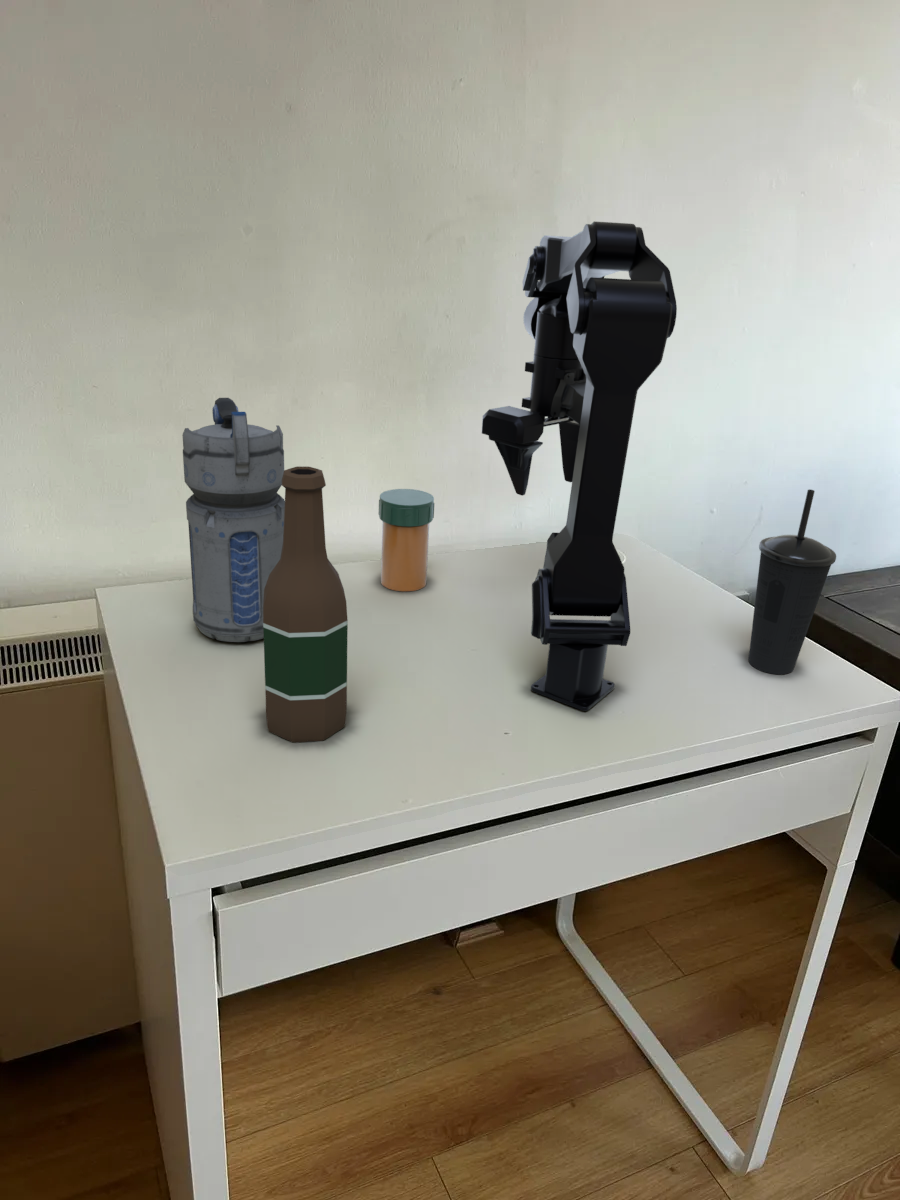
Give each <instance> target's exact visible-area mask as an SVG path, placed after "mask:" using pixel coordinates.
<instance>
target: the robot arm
mask: <svg viewBox="0 0 900 1200" xmlns="http://www.w3.org/2000/svg"><path fill="white" fill-rule="evenodd" d="M532 249H533V250H532V254H531V255H529V257H528V258H527V263H526V267H525V271H524V273H523V278H522V291H523V292H524V297H526V298H533V299H531V300H530V302H529V303H528V304H527V306H526V307H525V309H524V312H523V318H522V319H523V325H524V329H525V330H526V332H527V334H528V335H529V336H530V337H531V338H532V339H533V340H534V348H533V349H534V350H533V358H532V359H533V361H525V364H524V372H527V373H530V374H531V381H530V394H529V396H527V397H522V398H521V408H518V407H515V406H510V405H507V406H501V407H495V408H489V409H488V410H487V411H486V412H485V413H484V414H483V415H482V420H481V421H482V422H481V434H482V435H485V436H488V440H489V441H492V442H494V443H495V446H496V448H497V450H498V452H499V455H500V456H501V458H502V460H503V463H504V465H505V468H506V470H507V473H508V475H509V478H510V481H511V483H512V486H513V489H514V491H515V493H516V494H517V495H519V496H525V495H526V492H527V489H528V485H529V478H530V472H531V467H532V460H533V455H534V453H535V452H536V451H537V450H538V449H539V448H540V447H541V446H542V445H543V444H544V442H543V441H539V439H541V437H542V435H543V433H544V428H545V427H550V426H555V425H558V431H559V440H560V452H561V463H562V464H561V465H562V471H563V477H564V481H565V482H568V483H571V487H570V493H569V502H568V509H567V516H566V523H565V526H564V527H562V529H561V530H560V531H559V532H552V533H551V534H550V535H549V537H548V538H547V539H546V549H545V556H544V561H543V567H542V568H538V571H537V574H536V577H535V579H534V581H533V582H532V583H531V609H532V610H531V615H532V616H531V629H530V635H531V637H533V638H535V639H538V640H540V643H541V645H546V646H547V645H548V652H547V653H548V654H547V663H546V672H545V674H544V675H543V676H542V677H540V678H539V679H537V680H536V681H534V682H533V683H532V684H531V685H530V691H532V692H533V693H536V694H539V695H541V696H544V697H546V698H548V699H551V700H554V701H556V702H559V703H561V704H564V705H567V706H570V707H572V708H574V709H577V710H580V711H583V712H587V711H590V709H592V708H593V707H594V706H595V705H596V704H598V703H599V702H600V701H601V700H602V699H603V698H605V697H606V696H607V695H608V694H609V693H611V692H612V691H613V690H614V689H615V687H616V686H615V685H616V684H615V683H614V682H613V681H610V680H607V679H605V678H604V674H605V666H606V659H607V653H608V646H621V647H626V646H627V645H628V642H629V639H630V635H631V622H630V611H629V610H630V608H629V599H628V588H627V587H628V586H627V578H626V574H625V566H624V564H623V562H622V559H621V557H620V555H619V553H618V551H617V549H616V545H615V544H614V542H613V540H614V532H615V526H616V520H617V514H618V508H619V503H620V496H621V491H622V483H623V478H624V472H625V468H626V467H625V466H626V460H627V455H628V448H629V442H630V436H631V432H632V425H633V419H634V413H635V407H636V402H637V396H638V391H639V390H640V388H641V387H642V386H643V385H644V383H645V382H646V381H647V380H648V379H649V378H650V376H651V375H652V374H653V373H654V371H656V369H657V368H658V367H659V366H660V365H661V363H662V362H663V358H664V353H665V349H666V345H667V340H668V339H669V338H670V337H671V336H672V334H673V333H674V329H675V326H676V321H677V313H678V312H677V311H678V309H677V308H678V306H677V299H676V293H675V289H674V284H673V280H672V275H671V271H670V268H669V267H668V266H667V265H666V264H665V263H664V262H663V261H662V260H661V259H660V257H658V256H657V255H656V254H655V253H654V252H653V251H652V250H651V249H650V247H648V246H647V244H646V240H645V236H644V230H643V228H642V227H641V226H636V224H635V223H627V222H613V221H612V222H611V221H609V222H608V221H596V220H595V221H593V222H592V223H585V224H584V227H583V229H582V231H579V232H578V233H576V234H575V235H573V236H563V235H543V236H542V237H541V239H540V241H539V245H535V246H534V247H533V248H532ZM618 272H628V276H629V279H628V278H610V277H609V278H608V277H605V276H609V275H612V274H615V273H618ZM523 408H525V409H523ZM527 409H529V410H527ZM551 616H558V617H559V616H562V617H563V616H564V617H565V616H566V617H605V618H606V617H607V618H608V617H610V620H609V619H608V620H606V619H565V618H564V619H562V618H560V619H559V618H557V619H556V618H551Z"/></svg>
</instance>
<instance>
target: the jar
mask: <svg viewBox="0 0 900 1200" xmlns="http://www.w3.org/2000/svg"><path fill="white" fill-rule="evenodd" d="M381 521H382V520H381ZM381 525H382V526H381V527H382V528H381V561H380V584H381V586H383V587H384V588H386V589H389V590H392V591H396V592H415V591H418V590H421V589H423V588H425V587H426V585H427V581H428V580H427V578H428V577H427V576H428V560H429V559H428V558H429V539H430V538H429V537H430V523H428V524H426V525H422V526H414V527H404V526H396V525H391V524H388V523H385V522H383V521H382V523H381Z"/></svg>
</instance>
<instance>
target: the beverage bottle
mask: <svg viewBox="0 0 900 1200" xmlns="http://www.w3.org/2000/svg"><path fill="white" fill-rule="evenodd" d="M211 410H212V411H211V412H212V421H213V423H214V424H209V425H206V426H202V427H200V428H198V429H195V430H191V429H190V428H189V427H185V428H184V430H183V432H182V435H181V436H182V448H183V449H182V460H183V461H182V463H183V476H184V477H183V479H184V483H185V484H186V486H187V487H188V488H189V490H190V491H191V492H192V493H193V494H191V495H190V496H189V497H188V498H187V499H186V501H185V509H186V520H187V523H188V540H189V555H190V569H191V570H190V571H191V585H192V619H193V620H192V621H193V622H194V624H195V626H196V627H197V629H198V630H199V632H200V633H201V634H203V635H204V636H206V637H208V638H210V639H212V640H214V639H216V640H217V641H221V642H228V643H245V642H254V641H259V640H262V639H263V640H264V631H263V600H264V589H265V586H266V583H267V580H268V577H269V574H270V573H271V571H272V570H273V569H274V567H275V566H276V564H277V563H278V562H279V560H280V558H281V552H282V546H283V532H284V508H285V498H284V497H282V496H281V494H279V493H278V492H279V490H280V489H281V487H283V486H282V477H283V473H284V470H285V450H284V434H283V431H282V429H281V427H280V425H275V426H276V429H275V430H270V429H267V428H266V427H262V426H259V425H255V424H248V417H247V412H246V411H239V407H238V406H237V405H236V403H235V402H234V400H233V399H231V398H229V397H219V398H217V399H216V400H215V401H214V405H213V406H212V409H211Z"/></svg>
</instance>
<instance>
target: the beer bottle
mask: <svg viewBox="0 0 900 1200" xmlns="http://www.w3.org/2000/svg"><path fill="white" fill-rule="evenodd" d="M326 486H327V484H326V479H325V476H324V472H323V470H322V469H319V468H316V467H312V466H293V467H290V468H287V469H284V473H283V477H282V486H281V487H283V488H284V501H285V508H284V532H283V546H282V552H281V558H280V560H279V562H278V563H277V564H276V566H275V567H274V569H273V570H272V571H271V573H270V574H269V577H268V580H267V583H266V586H265V589H264V600H263V631H264V638H263V653H264V654H263V657H264V658H263V659H264V660H263V661H264V690H265V691H264V692H265V693H264V695H265V715H266V717H265V718H266V727H267V730H268V732H270V733H271V734H273V735H276V736H278V737H280V738H282V739H284V740H286V741H289V742H290V743H305V742H306V743H308V742H324V741H325V740H327V739H328V738H330V737H332V736H333V735H335V734H336V733H337V732H339V731H341V730H342V729H344V727H345V726H346V721H347V710H348V709H347V707H348V703H347V702H348V620H349V619H348V610H347V609H348V605H347V598H346V593H345V589H344V585H343V583H342V580H341V577H340V574H339V572H338V570H337V569H336V568H335V566H334V565H333V563H332V562H331V561H330V560H329V558H328V553H327V546H326V545H327V544H326V531H325V515H324V513H325V512H324V499H323V489H324V488H325V487H326Z"/></svg>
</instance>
